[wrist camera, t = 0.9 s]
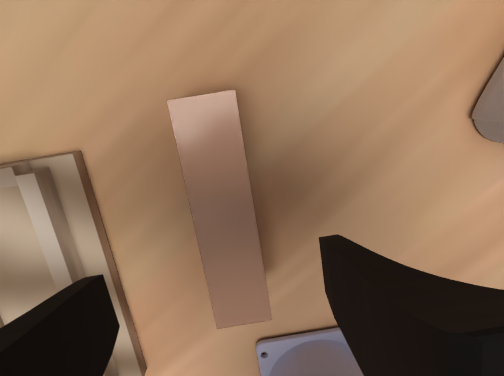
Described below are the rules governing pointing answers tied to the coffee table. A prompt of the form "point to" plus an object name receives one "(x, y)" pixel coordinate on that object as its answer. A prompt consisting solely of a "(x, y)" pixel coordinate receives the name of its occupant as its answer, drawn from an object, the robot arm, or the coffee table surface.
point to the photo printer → (491, 108)
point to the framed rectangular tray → (57, 245)
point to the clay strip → (222, 205)
